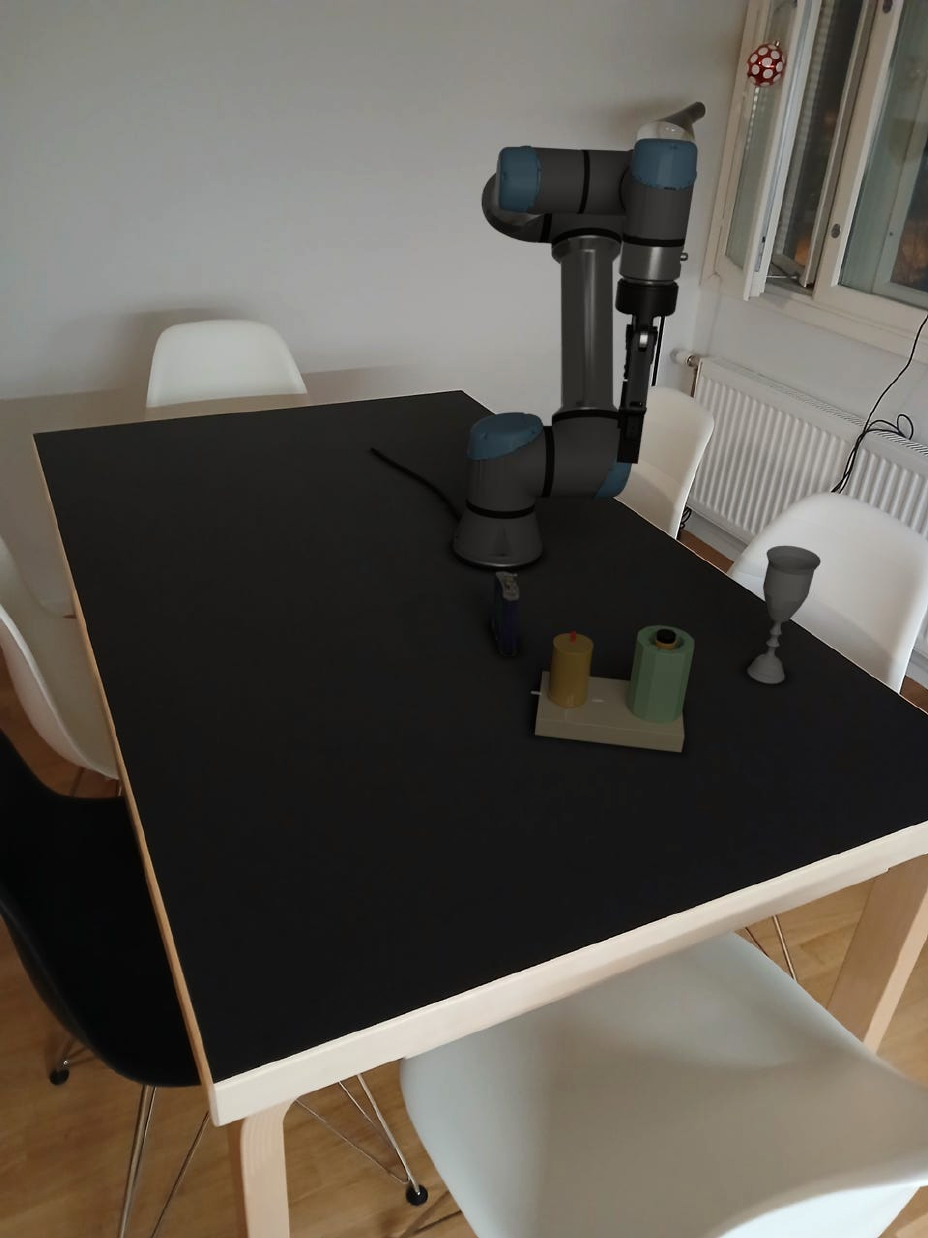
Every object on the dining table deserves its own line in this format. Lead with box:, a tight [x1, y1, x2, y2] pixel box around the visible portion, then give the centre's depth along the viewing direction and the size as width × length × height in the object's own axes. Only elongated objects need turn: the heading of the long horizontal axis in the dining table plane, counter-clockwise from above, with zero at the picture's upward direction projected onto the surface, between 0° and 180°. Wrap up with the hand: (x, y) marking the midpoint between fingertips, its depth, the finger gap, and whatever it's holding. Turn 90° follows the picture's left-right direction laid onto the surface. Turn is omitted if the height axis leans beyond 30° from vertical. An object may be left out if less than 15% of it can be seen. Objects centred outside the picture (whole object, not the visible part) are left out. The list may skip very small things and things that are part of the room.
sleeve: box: [627, 624, 695, 723], centre depth 119 cm, size 7×7×10 cm
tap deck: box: [530, 670, 685, 753], centre depth 123 cm, size 19×11×3 cm, turn 81°
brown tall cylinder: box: [654, 629, 676, 650], centre depth 119 cm, size 3×3×12 cm
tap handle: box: [548, 630, 594, 708], centre depth 121 cm, size 5×5×8 cm
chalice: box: [746, 545, 822, 684], centre depth 130 cm, size 7×7×18 cm
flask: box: [491, 571, 521, 657], centre depth 137 cm, size 9×3×11 cm, turn 8°
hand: (626, 444), depth 129 cm, fingers open, 13 cm apart
